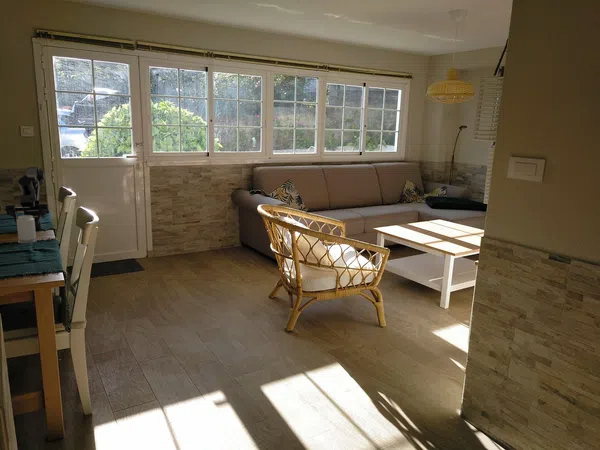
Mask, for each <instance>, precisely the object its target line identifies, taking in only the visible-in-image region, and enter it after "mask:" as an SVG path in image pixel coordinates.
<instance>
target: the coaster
mask: <svg viewBox="0 0 600 450" xmlns="http://www.w3.org/2000/svg"><path fill="white" fill-rule="evenodd" d="M37 241H38V240H37V238H35V239H34V240H33V241H25V242H24V241H20V240H19V239H18V240H17V243H18V244H22V245H25V244H33V243H36V242H37Z"/></svg>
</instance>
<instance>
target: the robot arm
mask: <svg viewBox="0 0 600 450" xmlns="http://www.w3.org/2000/svg"><path fill="white" fill-rule="evenodd" d="M45 174H46V173H45V171H44V170H42V169H40V167H39V166H29V167H27V170H26V175H22V176H21V177H20V178H19V179H18V180H17V183H18V185H19V189H20V190H21V194H20V195H19V202H20V203H19V206H16V205H15V204H6V205H5V206H4V209H5V212H6V213H5V214H6V215H7V216H10V217H12V218H13V219H14V222H15V223H14V224H15V225H17V219H18V214H17V212H23V214H24V215H31V216H33V218H34V221H35V231H41V230H43V228H44V226H43V225H42V219H44V218H45V217H46V216H47V214H48V215H49V214H50V211H51V210H50V206H49V203H41V202H40V192H41V191H40V189H41V188H40V187H42V185H44V181H45V179H46V176H45Z"/></svg>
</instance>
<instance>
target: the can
mask: <svg viewBox="0 0 600 450" xmlns="http://www.w3.org/2000/svg"><path fill="white" fill-rule="evenodd" d="M16 227H17V229H16V230H17V237H18V240H20V241H24V242H25V241H33V240H34V239H37V233H36V230H35V221H34V218H33V216H31V215H19V216H18V215H17V224H16Z"/></svg>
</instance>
